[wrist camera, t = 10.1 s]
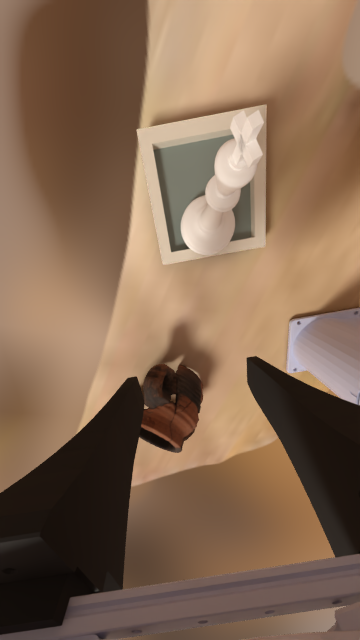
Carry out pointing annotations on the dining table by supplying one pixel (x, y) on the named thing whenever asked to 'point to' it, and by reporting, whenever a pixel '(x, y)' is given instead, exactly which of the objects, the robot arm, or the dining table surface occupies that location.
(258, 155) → the chess piece
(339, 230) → the dining table surface
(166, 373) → the pottery mug
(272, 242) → the dining table surface
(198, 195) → the picture frame
